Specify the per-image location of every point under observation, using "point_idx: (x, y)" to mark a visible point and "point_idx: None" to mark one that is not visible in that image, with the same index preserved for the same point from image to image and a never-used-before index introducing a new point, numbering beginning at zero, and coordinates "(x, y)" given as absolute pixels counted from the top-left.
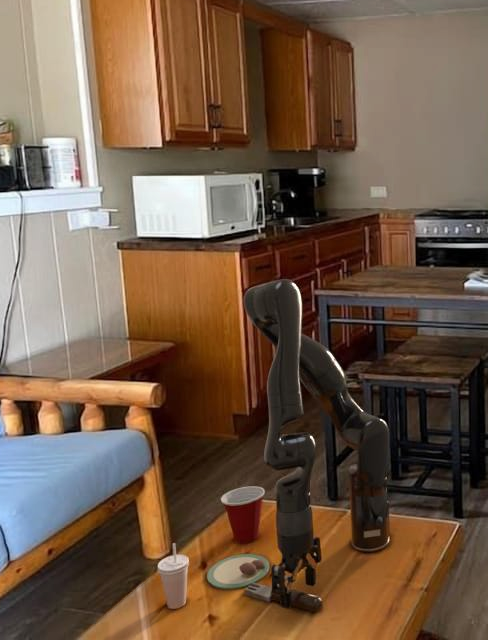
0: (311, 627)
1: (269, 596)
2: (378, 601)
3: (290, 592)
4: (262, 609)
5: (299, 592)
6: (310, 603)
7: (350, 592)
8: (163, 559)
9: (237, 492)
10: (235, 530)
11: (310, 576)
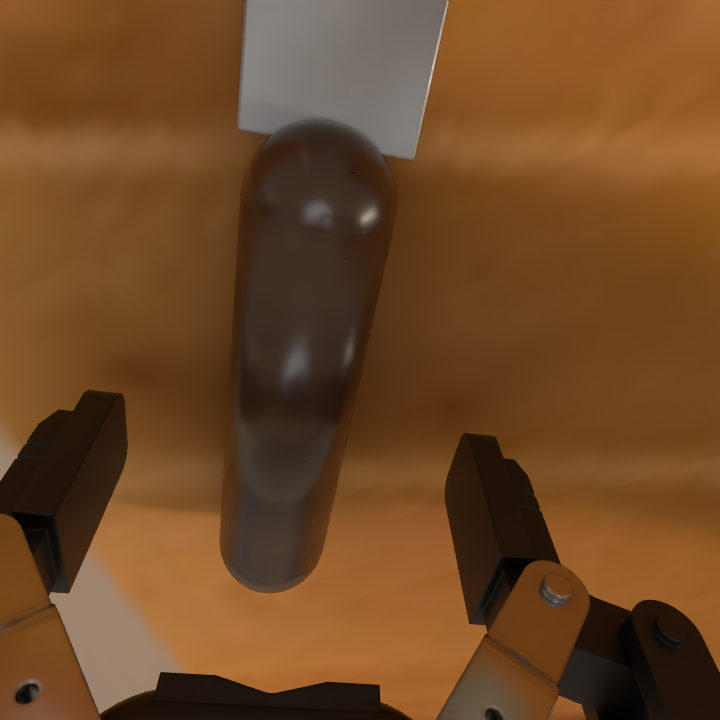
0: (116, 533)
1: (253, 128)
2: (440, 686)
3: (62, 583)
4: (120, 105)
5: (289, 472)
6: (223, 549)
7: None
8: None
9: None
10: None
11: (467, 542)
